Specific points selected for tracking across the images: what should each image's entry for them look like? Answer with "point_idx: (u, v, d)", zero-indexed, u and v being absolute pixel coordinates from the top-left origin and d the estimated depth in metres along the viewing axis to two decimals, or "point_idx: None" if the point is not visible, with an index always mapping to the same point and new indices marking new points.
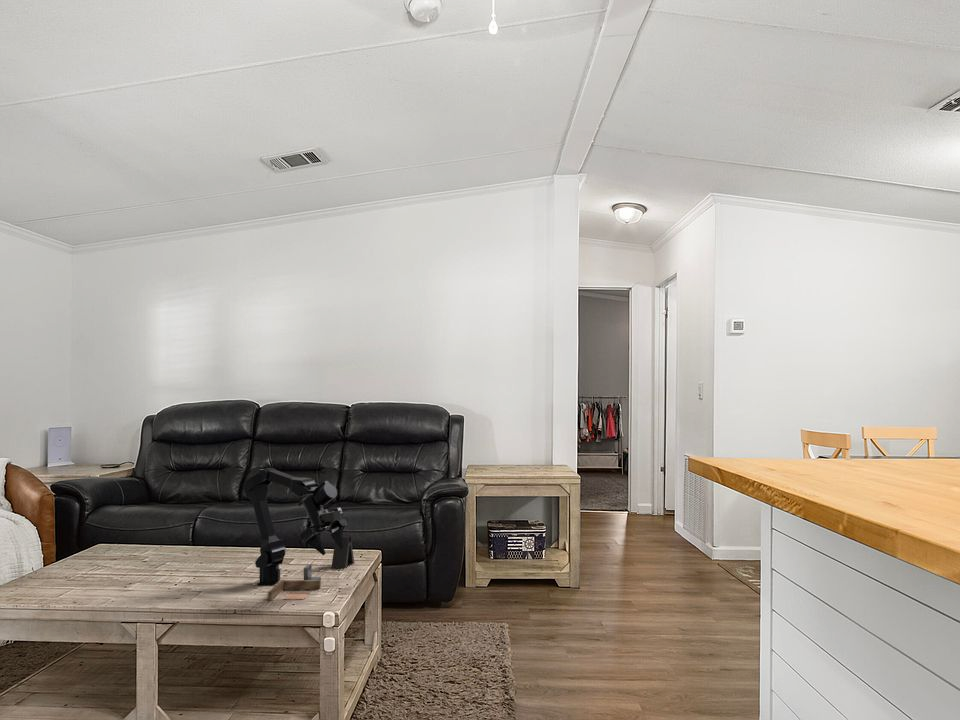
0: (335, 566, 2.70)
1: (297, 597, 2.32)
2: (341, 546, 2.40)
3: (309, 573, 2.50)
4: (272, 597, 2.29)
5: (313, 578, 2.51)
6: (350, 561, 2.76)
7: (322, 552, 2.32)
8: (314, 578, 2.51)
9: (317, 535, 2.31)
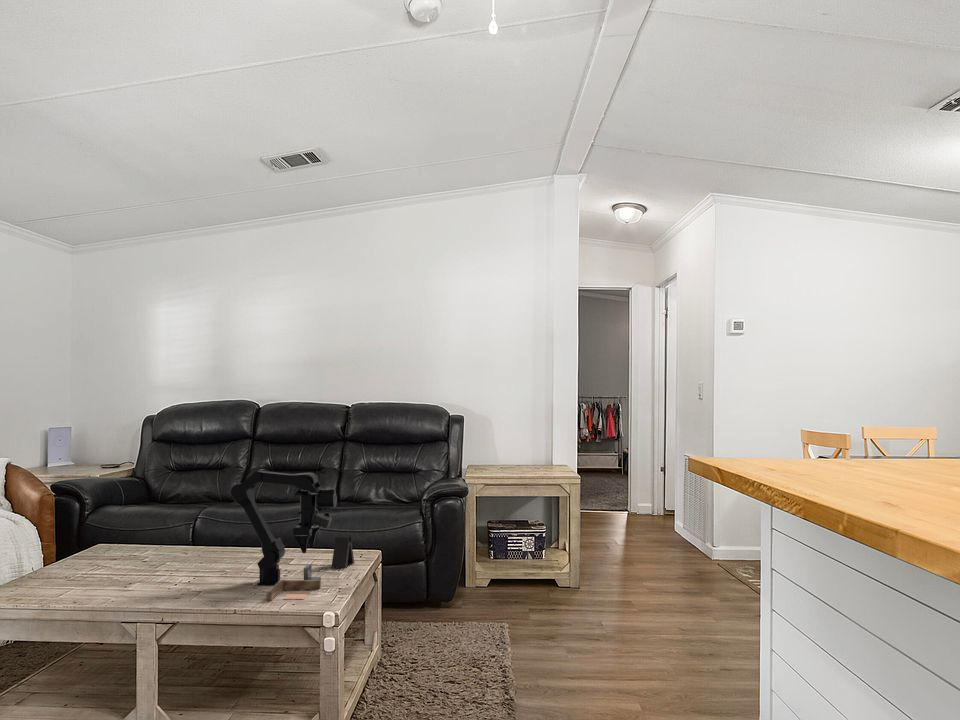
0: (335, 566, 2.70)
1: (297, 597, 2.32)
2: (312, 544, 2.55)
3: (309, 573, 2.50)
4: (272, 597, 2.29)
5: (313, 578, 2.51)
6: (350, 561, 2.76)
7: (304, 551, 2.45)
8: (314, 578, 2.51)
9: (309, 536, 2.44)
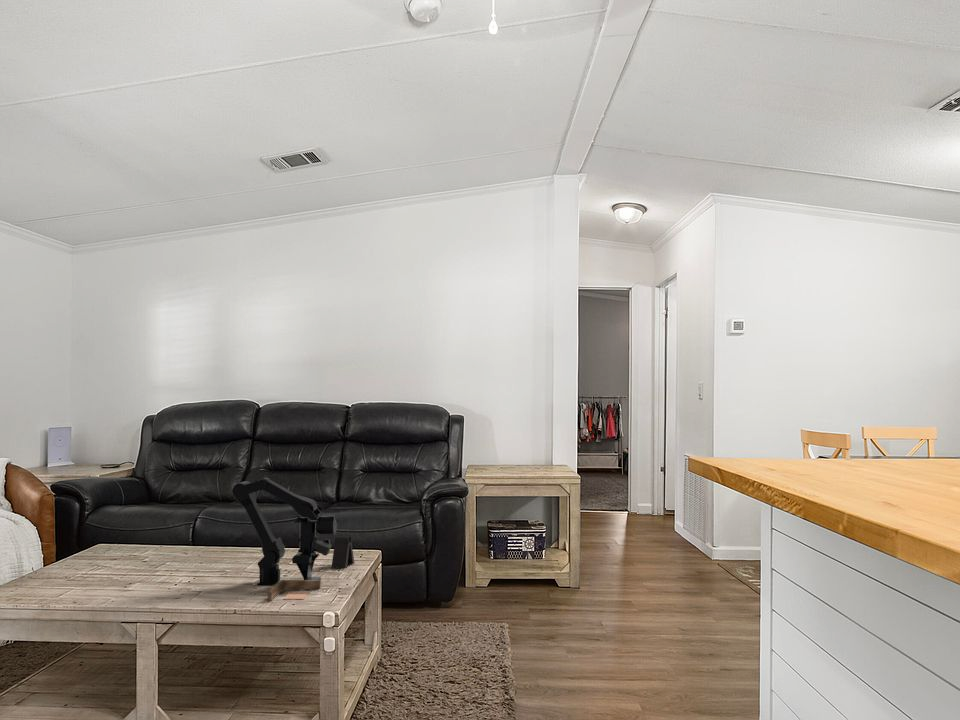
0: (335, 566, 2.70)
1: (297, 597, 2.32)
2: None
3: (309, 573, 2.50)
4: (272, 597, 2.29)
5: (313, 578, 2.51)
6: (350, 561, 2.76)
7: (305, 577, 2.47)
8: (314, 578, 2.51)
9: (310, 563, 2.46)
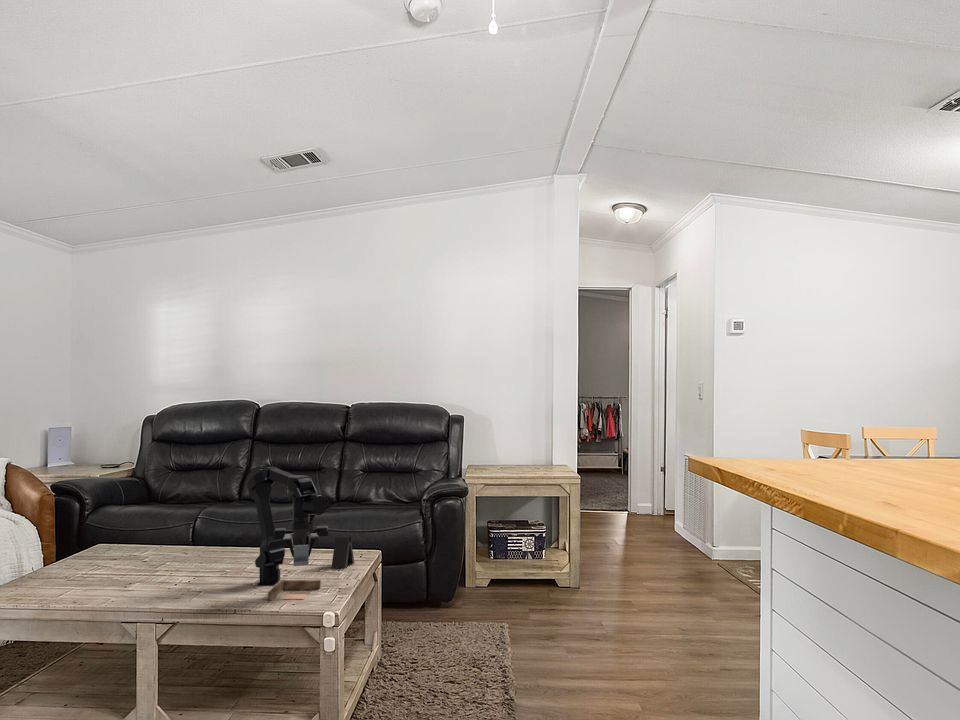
0: (335, 566, 2.70)
1: (297, 597, 2.32)
2: (308, 554, 2.40)
3: (300, 553, 2.39)
4: (272, 597, 2.29)
5: (302, 559, 2.38)
6: (350, 561, 2.76)
7: (292, 555, 2.39)
8: (302, 560, 2.37)
9: (287, 541, 2.36)
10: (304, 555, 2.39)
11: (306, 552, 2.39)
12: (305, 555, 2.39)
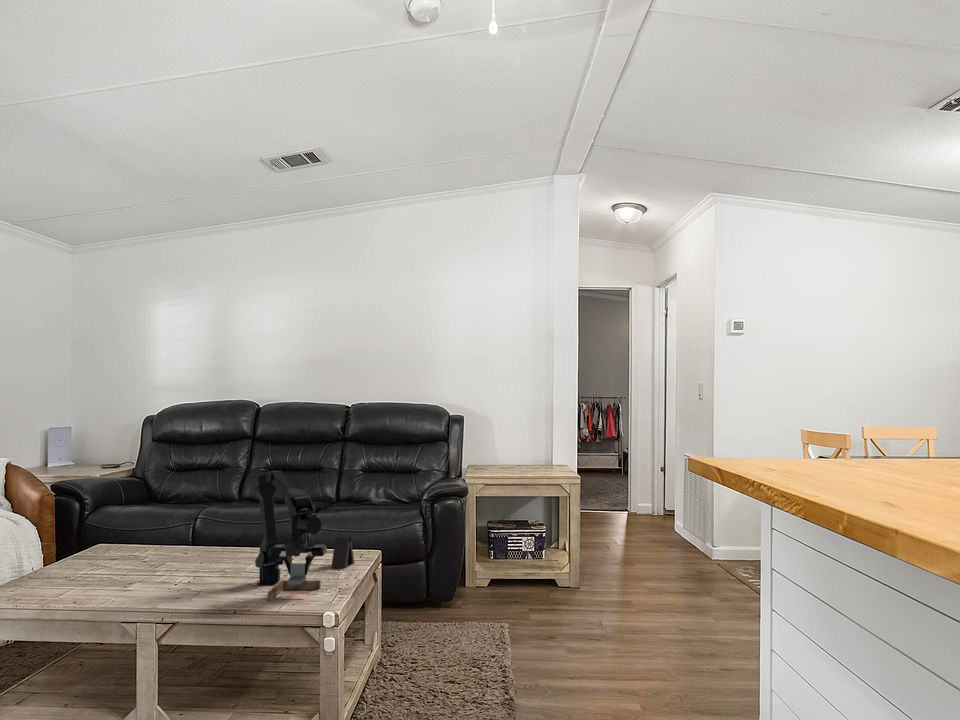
0: (335, 566, 2.70)
1: (297, 597, 2.32)
2: (305, 572, 2.36)
3: (297, 571, 2.36)
4: (272, 597, 2.29)
5: (297, 578, 2.34)
6: (350, 561, 2.76)
7: None
8: (297, 578, 2.34)
9: (282, 558, 2.34)
10: (300, 574, 2.35)
11: (302, 571, 2.36)
12: (301, 574, 2.35)
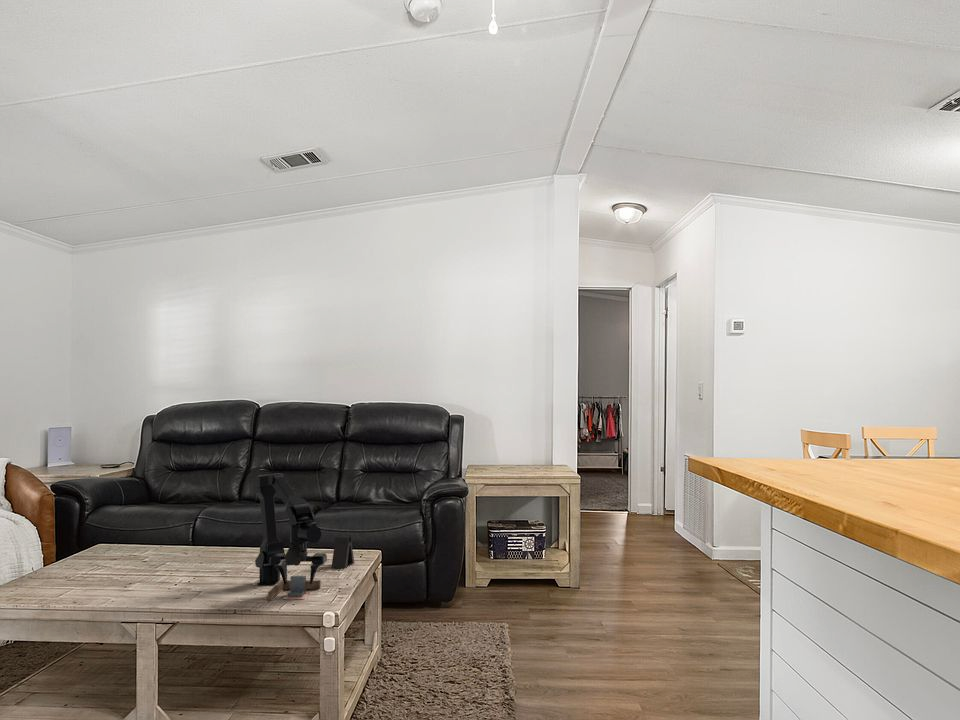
0: (335, 566, 2.70)
1: (297, 597, 2.32)
2: (310, 581, 2.36)
3: (297, 584, 2.35)
4: (272, 597, 2.29)
5: (297, 591, 2.34)
6: (350, 561, 2.76)
7: None
8: (297, 591, 2.34)
9: (277, 567, 2.34)
10: (300, 586, 2.35)
11: (302, 583, 2.35)
12: (301, 586, 2.35)
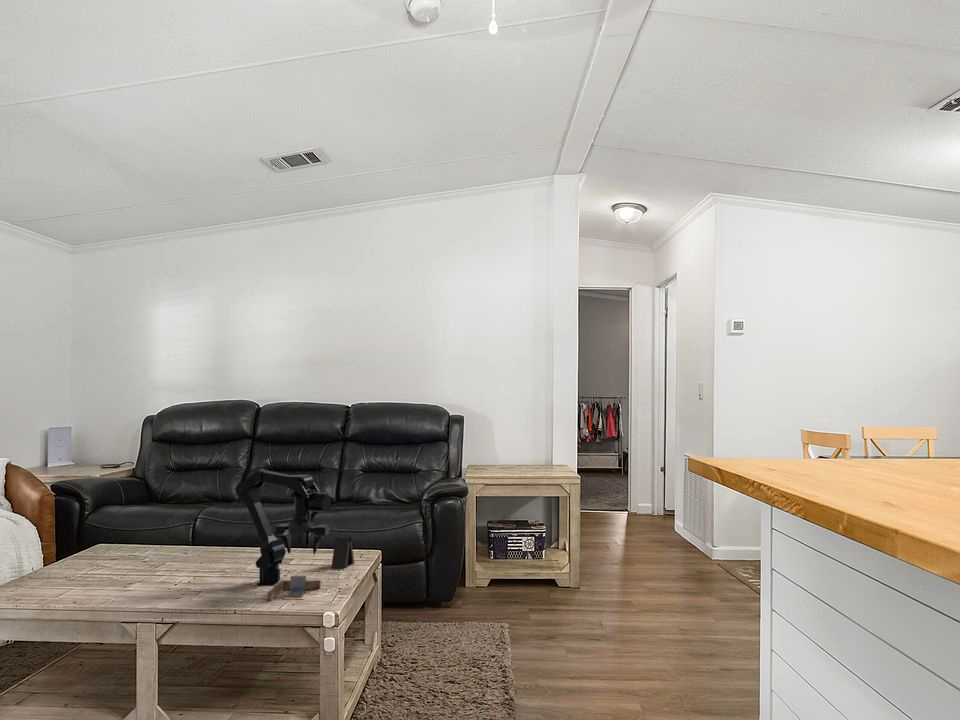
0: (335, 566, 2.70)
1: (297, 597, 2.32)
2: None
3: (297, 584, 2.35)
4: (272, 597, 2.29)
5: (297, 591, 2.34)
6: (350, 561, 2.76)
7: None
8: (297, 591, 2.34)
9: (281, 537, 2.44)
10: (300, 586, 2.35)
11: (302, 583, 2.35)
12: (301, 586, 2.35)
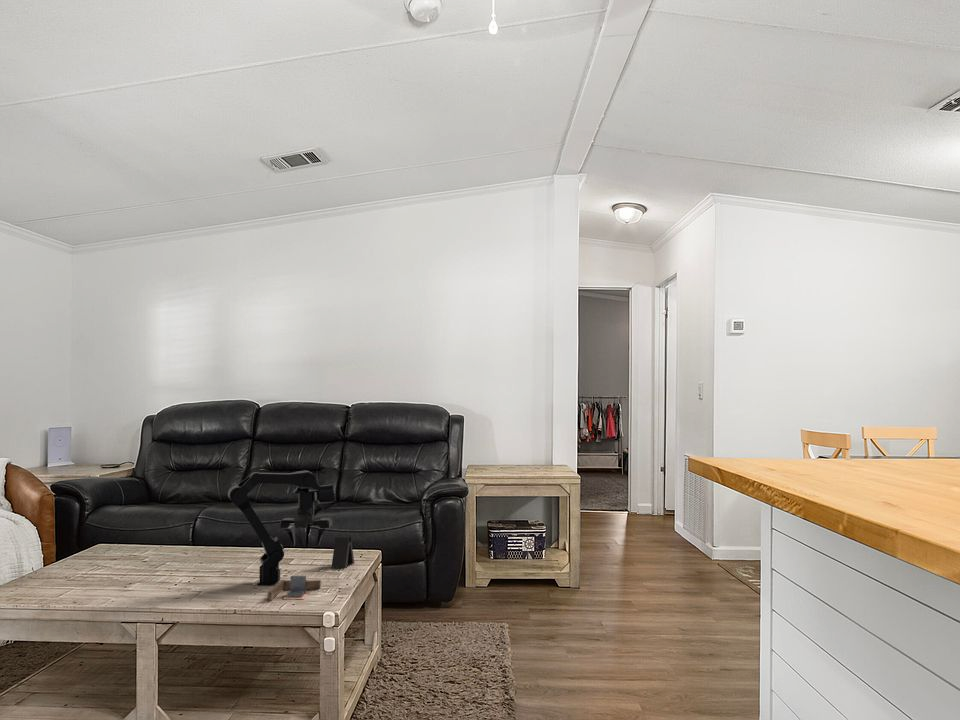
0: (335, 566, 2.70)
1: (297, 597, 2.32)
2: None
3: (297, 584, 2.35)
4: (272, 597, 2.29)
5: (297, 591, 2.34)
6: (350, 561, 2.76)
7: None
8: (297, 591, 2.34)
9: (286, 530, 2.55)
10: (300, 586, 2.35)
11: (302, 583, 2.35)
12: (301, 586, 2.35)
